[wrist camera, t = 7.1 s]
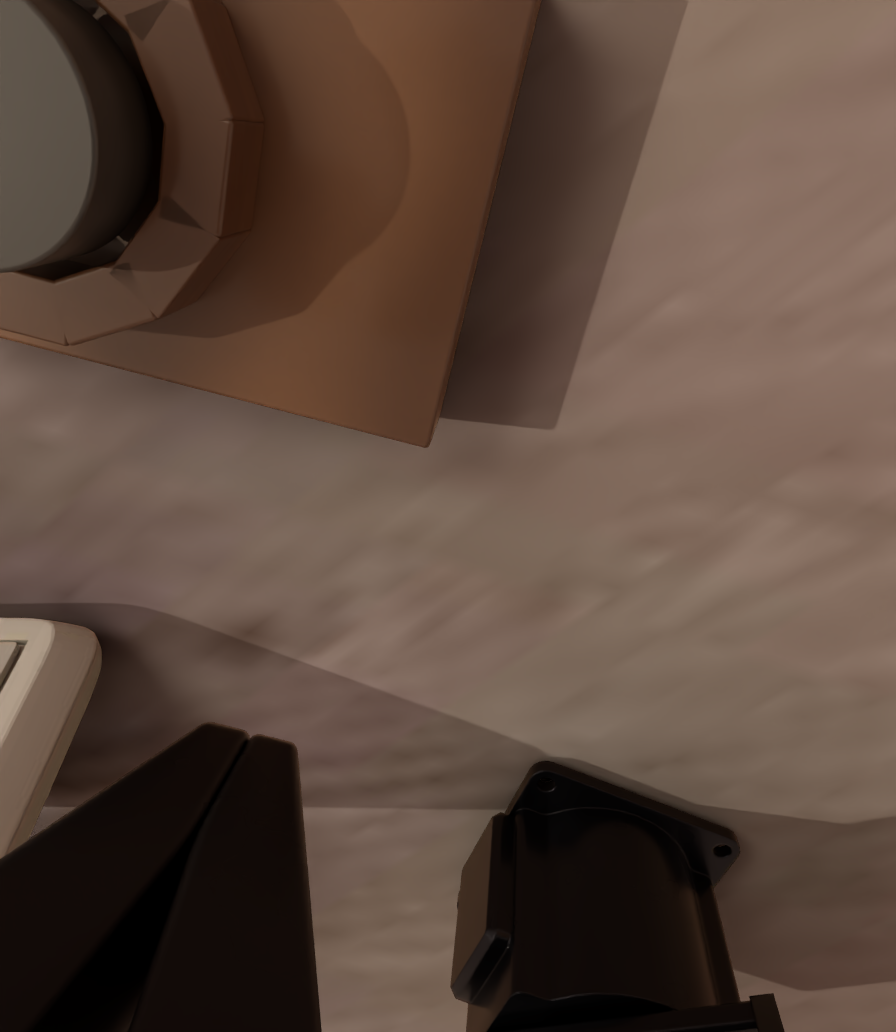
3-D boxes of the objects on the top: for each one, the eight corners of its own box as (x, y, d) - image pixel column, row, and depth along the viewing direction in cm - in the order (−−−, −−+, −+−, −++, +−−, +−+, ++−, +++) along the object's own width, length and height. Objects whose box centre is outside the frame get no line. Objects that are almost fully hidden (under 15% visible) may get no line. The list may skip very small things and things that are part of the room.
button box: (545, -15, 16) (548, -64, 12) (439, 419, 19) (417, 481, 16) (-63, -176, 15) (-246, -276, 12) (-50, 292, 19) (-186, 325, 16)
